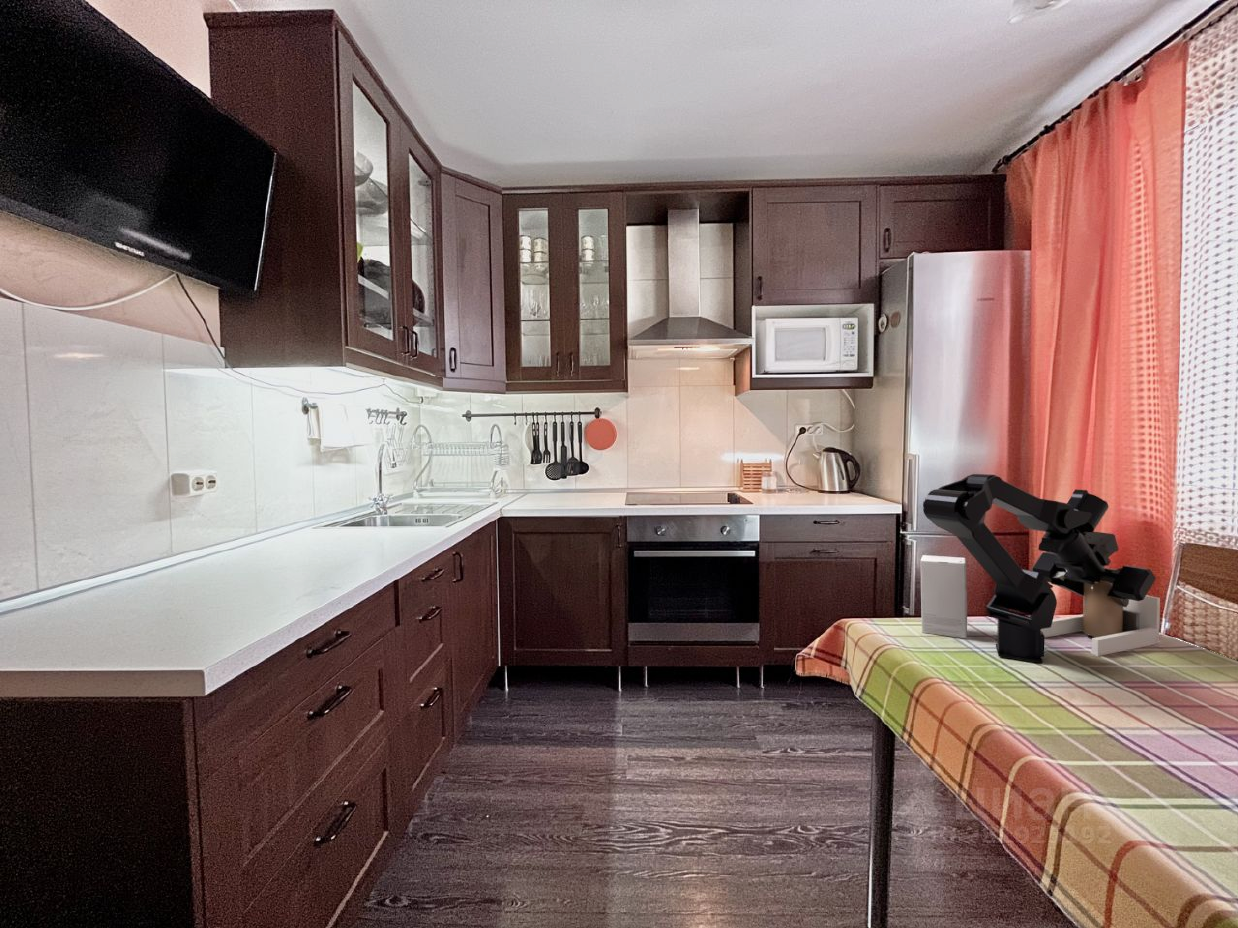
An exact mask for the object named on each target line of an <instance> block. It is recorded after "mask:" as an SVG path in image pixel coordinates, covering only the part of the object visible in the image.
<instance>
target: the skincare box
mask: <svg viewBox="0 0 1238 928" xmlns="http://www.w3.org/2000/svg"><path fill="white" fill-rule="evenodd" d="M919 565H920V599H921V600H920V604H921V606H920V609H921V610H920V612H921V617H920V618H921V633H923V634H932V635H939V636H945V637H954V638H961V639H967V636H968V596H967V595H968V593H967V592H968V591H967V561H966V557H958V556H946V555H945V556H942V555H929V554H922V555H921V558H920V564H919Z"/></svg>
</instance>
